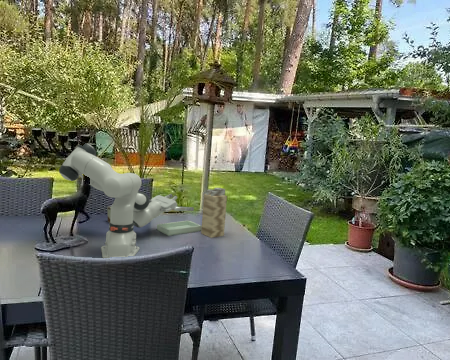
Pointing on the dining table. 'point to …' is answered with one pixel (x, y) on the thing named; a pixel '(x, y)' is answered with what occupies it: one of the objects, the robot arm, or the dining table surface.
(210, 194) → the pin post
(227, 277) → the dining table surface
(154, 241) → the dining table surface
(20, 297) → the dining table surface
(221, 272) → the dining table surface
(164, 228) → the pin tray
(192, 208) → the stop pin
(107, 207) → the food container
